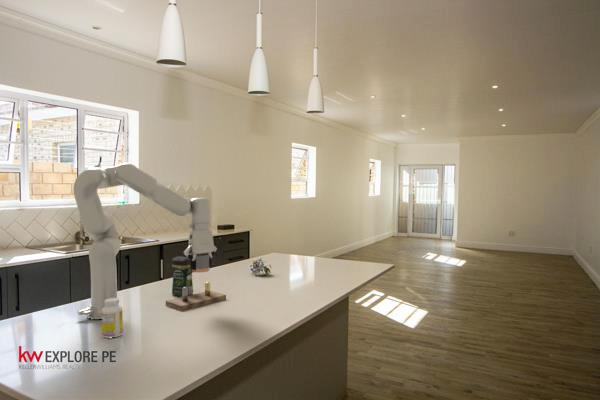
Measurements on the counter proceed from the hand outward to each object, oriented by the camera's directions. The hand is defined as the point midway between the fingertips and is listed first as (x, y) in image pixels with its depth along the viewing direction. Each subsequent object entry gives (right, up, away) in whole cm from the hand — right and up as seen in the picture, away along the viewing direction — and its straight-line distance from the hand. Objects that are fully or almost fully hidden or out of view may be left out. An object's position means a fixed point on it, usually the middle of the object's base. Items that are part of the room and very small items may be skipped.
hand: (200, 267), depth 175 cm
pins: (-4, -15, +11) cm, 19 cm away
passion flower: (+19, -16, +69) cm, 73 cm away
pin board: (-4, -17, +11) cm, 21 cm away
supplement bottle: (-24, -19, -31) cm, 43 cm away
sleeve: (0, -1, 0) cm, 1 cm away
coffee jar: (-15, -17, +24) cm, 33 cm away
